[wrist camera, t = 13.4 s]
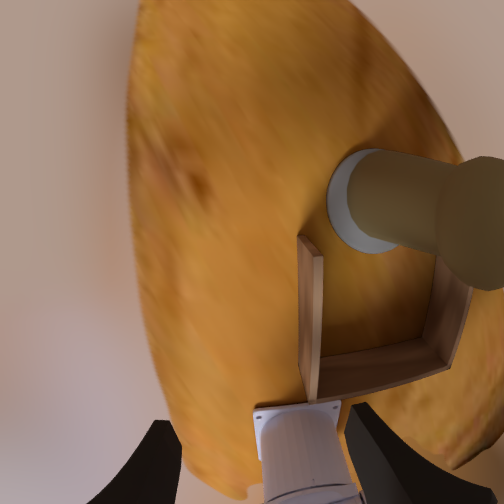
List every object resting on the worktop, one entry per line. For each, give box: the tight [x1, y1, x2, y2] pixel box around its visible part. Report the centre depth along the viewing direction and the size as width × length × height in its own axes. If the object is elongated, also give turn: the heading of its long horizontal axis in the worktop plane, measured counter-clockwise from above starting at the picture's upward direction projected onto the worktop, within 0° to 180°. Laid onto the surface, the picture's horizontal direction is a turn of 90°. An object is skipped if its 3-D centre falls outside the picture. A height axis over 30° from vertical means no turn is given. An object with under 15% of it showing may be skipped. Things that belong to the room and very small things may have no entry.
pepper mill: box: [347, 150, 504, 291], centre depth 11 cm, size 6×6×11 cm
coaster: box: [326, 149, 398, 254], centre depth 17 cm, size 7×7×1 cm
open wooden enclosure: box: [297, 235, 473, 405], centre depth 17 cm, size 10×12×4 cm
